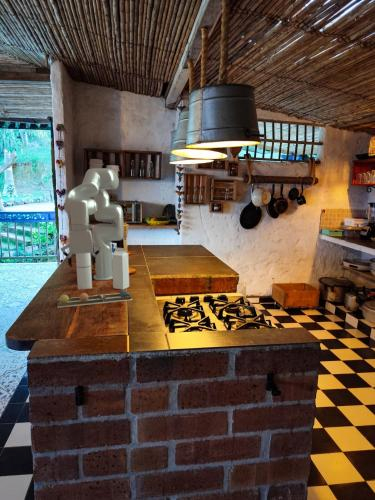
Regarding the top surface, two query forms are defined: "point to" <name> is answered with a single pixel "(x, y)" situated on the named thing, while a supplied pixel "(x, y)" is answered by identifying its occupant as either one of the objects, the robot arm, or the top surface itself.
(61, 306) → the board
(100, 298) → the wooden picture frame
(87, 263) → the cylindrical container
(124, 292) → the charcoal ball
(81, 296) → the terracotta ball
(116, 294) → the wooden rectangular frame
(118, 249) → the milk
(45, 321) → the top surface
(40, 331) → the top surface
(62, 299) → the ochre ball
